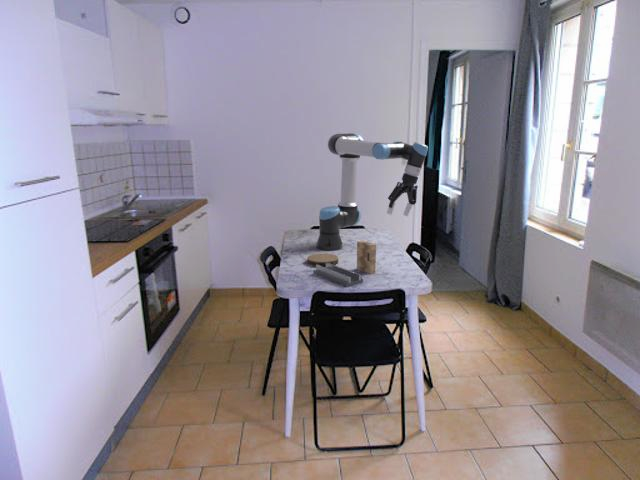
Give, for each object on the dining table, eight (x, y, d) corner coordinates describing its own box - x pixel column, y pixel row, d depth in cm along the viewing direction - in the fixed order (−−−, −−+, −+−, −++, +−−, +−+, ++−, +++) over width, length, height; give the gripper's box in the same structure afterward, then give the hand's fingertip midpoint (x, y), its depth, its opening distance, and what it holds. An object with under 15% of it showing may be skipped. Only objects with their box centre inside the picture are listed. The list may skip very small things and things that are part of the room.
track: (313, 273, 214) (313, 265, 213) (329, 269, 220) (329, 261, 219) (346, 287, 196) (346, 278, 195) (363, 282, 202) (363, 274, 201)
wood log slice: (337, 258, 240) (337, 253, 240) (339, 267, 225) (339, 261, 224) (307, 258, 240) (307, 253, 239) (307, 267, 225) (307, 262, 224)
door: (356, 269, 221) (356, 241, 218) (361, 267, 223) (361, 240, 220) (370, 273, 214) (370, 245, 210) (375, 272, 216) (376, 244, 212)
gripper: (401, 173, 211) (387, 215, 217) (431, 179, 228) (417, 218, 233) (389, 169, 216) (376, 210, 222) (420, 175, 233) (406, 213, 239)
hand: (397, 214), depth 228 cm, fingers open, 13 cm apart
